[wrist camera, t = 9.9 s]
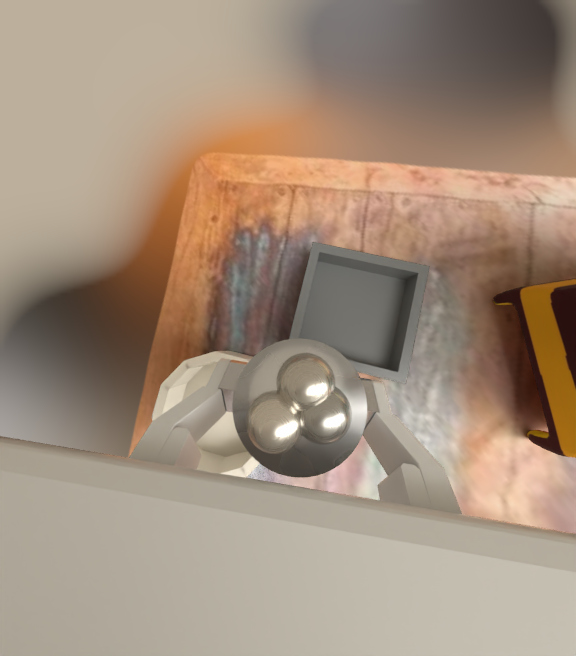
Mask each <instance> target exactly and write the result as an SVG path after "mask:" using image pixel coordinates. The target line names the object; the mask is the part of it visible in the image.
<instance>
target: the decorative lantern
mask: <svg viewBox="0 0 576 656" xmlns="http://www.w3.org/2000/svg"><path fill="white" fill-rule="evenodd" d="M493 302H494V303H495V304H496V305H514V306H515V308H516V310H517V312H518V316H519V320H520V324H521V328H522V331H523V335H524V339H525V343H526V346H527V350H528V354H529V358H530V362H531V365H532V369H533V373H534V377H535V381H536V384H537V388H538V392H539V396H540V399H541V403H542V407H543V411H544V415H545V418H546V422H547V426H548V430H549V432H545V431H540V430H531V431H529V432H528V434H527V435H528V438H529V439H530V440H531V441H532V442H533V443H534V444H536V445H538V446H540V447H542V448H544V449H546V450H548V451H551V452H553V453H555V454H558V455H562V456H567V457H576V279H569V280H563V281H557V282H550V283H544V284H538V285H532V286H525V287H520V288H516V289H512V290H509V291H505V292H503V293H501V294H498V295H496V296H495V297H494V300H493Z"/></svg>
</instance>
